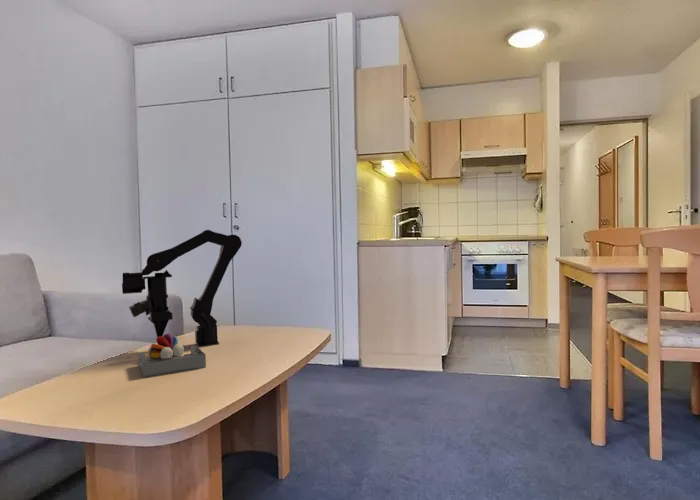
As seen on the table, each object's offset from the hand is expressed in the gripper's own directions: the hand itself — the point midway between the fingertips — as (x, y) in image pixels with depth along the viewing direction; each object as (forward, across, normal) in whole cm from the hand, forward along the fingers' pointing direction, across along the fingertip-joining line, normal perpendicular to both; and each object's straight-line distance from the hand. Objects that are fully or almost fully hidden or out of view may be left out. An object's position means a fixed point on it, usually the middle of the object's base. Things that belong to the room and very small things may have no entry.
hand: (159, 338), depth 150 cm
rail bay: (+4, +25, 0) cm, 25 cm away
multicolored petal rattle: (+4, +13, 0) cm, 13 cm away
